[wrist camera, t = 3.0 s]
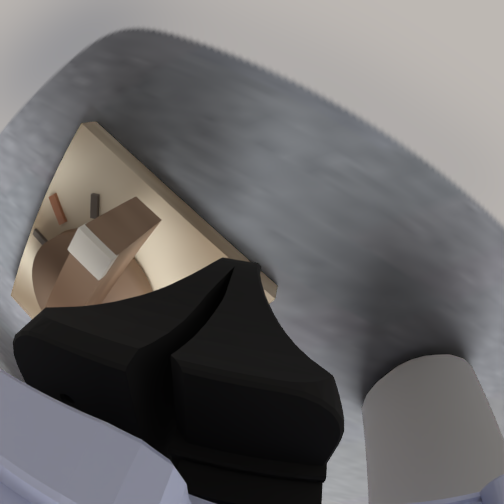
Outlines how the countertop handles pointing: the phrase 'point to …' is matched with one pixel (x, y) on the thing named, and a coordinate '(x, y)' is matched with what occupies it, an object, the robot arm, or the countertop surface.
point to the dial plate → (112, 195)
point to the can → (430, 433)
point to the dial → (95, 259)
